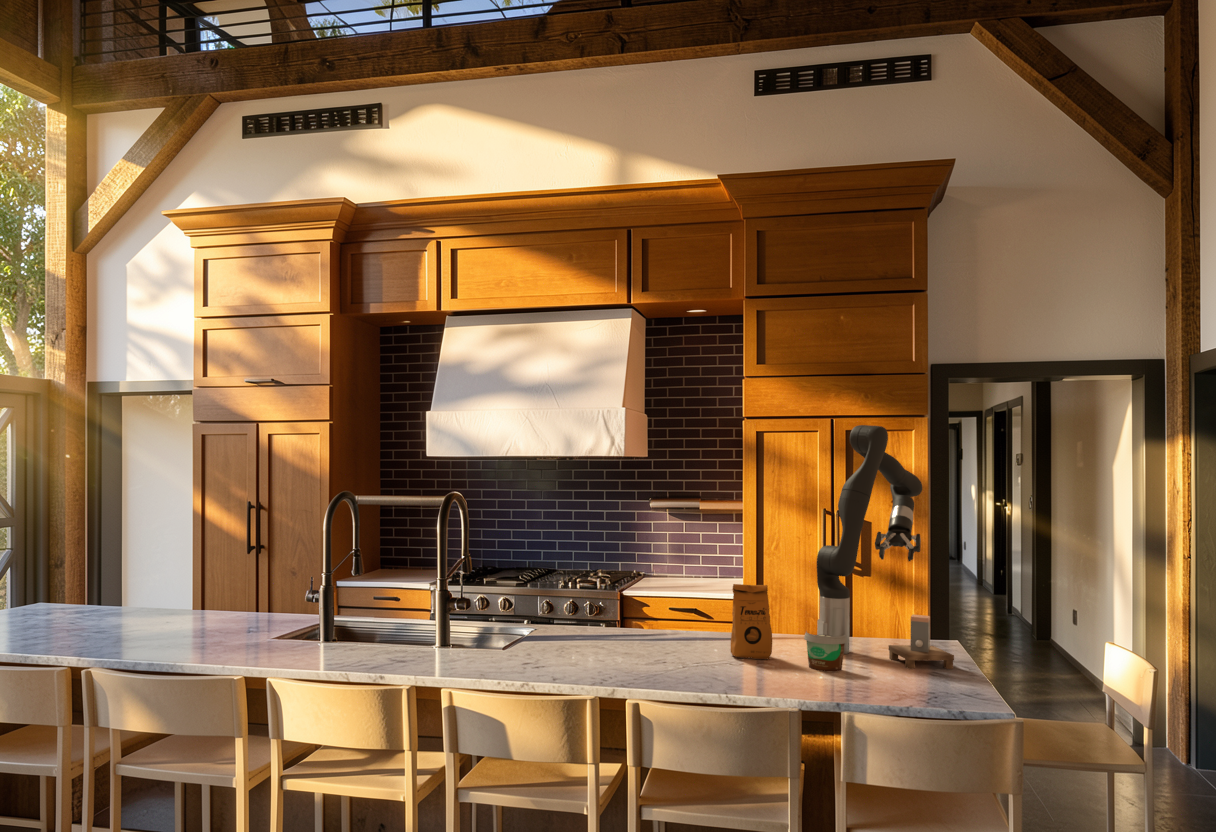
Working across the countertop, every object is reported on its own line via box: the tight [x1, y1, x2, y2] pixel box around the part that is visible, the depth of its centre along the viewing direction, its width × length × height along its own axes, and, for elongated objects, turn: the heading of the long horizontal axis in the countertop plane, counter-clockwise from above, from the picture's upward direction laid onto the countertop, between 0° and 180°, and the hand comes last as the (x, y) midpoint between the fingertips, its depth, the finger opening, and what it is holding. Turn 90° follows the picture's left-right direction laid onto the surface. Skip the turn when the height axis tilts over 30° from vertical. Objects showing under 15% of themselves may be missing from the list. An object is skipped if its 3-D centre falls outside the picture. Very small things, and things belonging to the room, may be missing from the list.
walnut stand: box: [888, 644, 955, 670], centre depth 258 cm, size 14×14×4 cm
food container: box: [803, 630, 847, 673], centre depth 247 cm, size 12×6×10 cm, turn 62°
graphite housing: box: [910, 614, 931, 652], centre depth 258 cm, size 5×6×10 cm
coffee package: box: [730, 583, 773, 660], centre depth 262 cm, size 10×12×22 cm
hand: (895, 558), depth 281 cm, fingers open, 8 cm apart
